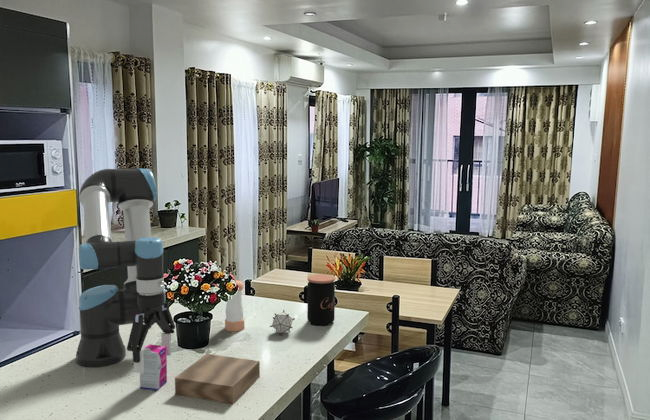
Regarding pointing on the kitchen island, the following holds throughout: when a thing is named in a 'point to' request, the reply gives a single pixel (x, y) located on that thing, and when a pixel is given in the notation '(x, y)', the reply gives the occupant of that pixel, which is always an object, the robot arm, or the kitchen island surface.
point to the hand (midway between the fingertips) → (153, 363)
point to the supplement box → (154, 367)
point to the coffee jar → (321, 299)
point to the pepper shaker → (235, 311)
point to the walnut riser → (217, 378)
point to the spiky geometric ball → (282, 322)
